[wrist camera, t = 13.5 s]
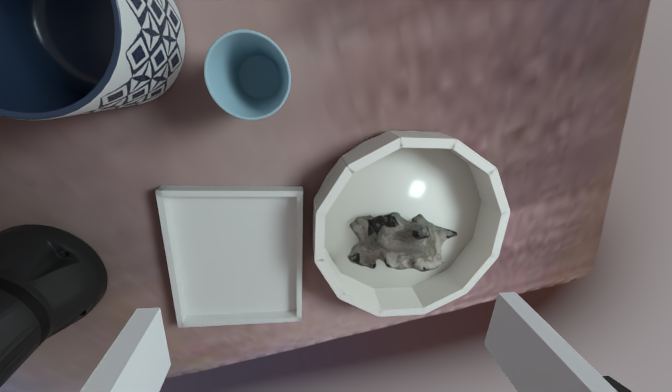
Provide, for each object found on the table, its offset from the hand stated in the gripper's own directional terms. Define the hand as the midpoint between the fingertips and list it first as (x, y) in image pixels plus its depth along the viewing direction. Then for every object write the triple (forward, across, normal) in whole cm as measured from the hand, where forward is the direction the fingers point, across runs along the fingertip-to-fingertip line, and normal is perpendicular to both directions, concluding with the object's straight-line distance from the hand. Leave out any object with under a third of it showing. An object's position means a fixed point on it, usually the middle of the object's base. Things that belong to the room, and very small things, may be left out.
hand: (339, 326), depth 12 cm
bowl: (+32, +14, -10) cm, 36 cm away
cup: (+32, -6, +9) cm, 34 cm away
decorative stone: (+31, +13, -11) cm, 35 cm away
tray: (+32, -10, -16) cm, 37 cm away
